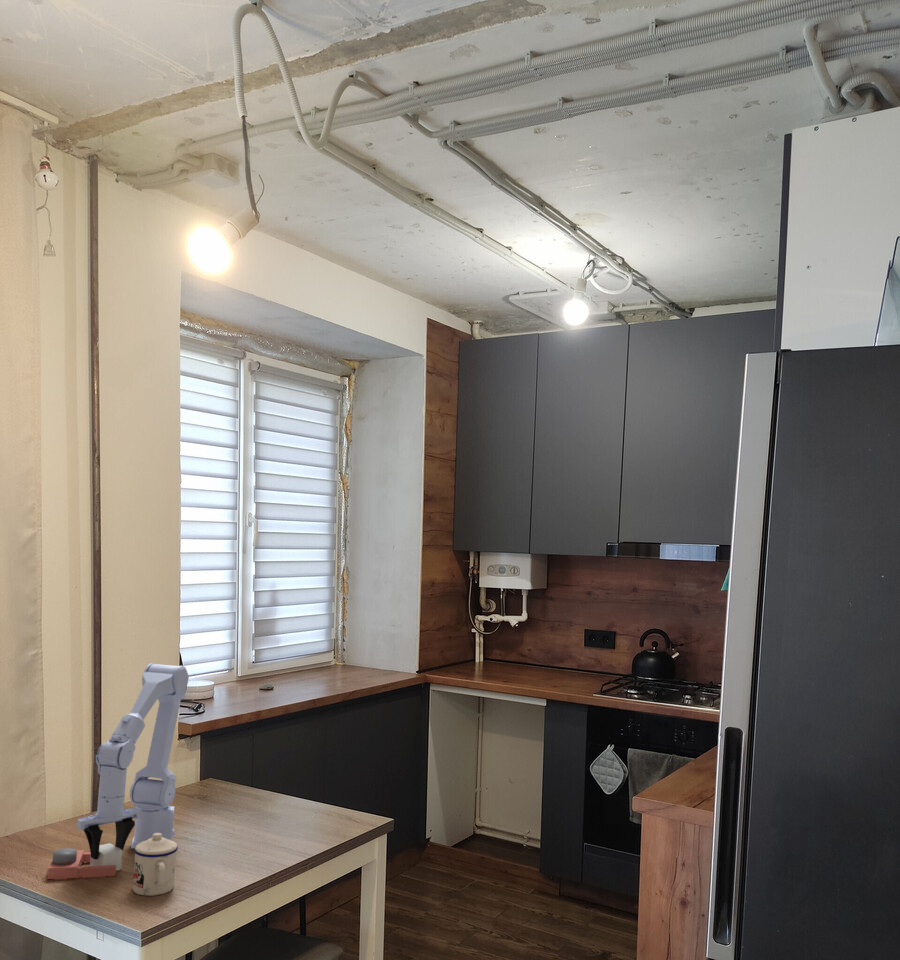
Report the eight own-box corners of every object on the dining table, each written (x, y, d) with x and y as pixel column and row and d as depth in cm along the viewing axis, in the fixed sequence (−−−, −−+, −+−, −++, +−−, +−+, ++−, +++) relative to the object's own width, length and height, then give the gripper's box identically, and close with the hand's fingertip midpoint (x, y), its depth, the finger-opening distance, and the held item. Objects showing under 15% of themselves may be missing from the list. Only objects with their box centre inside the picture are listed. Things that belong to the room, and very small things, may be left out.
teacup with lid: (127, 884, 191) (131, 829, 192) (169, 878, 196) (173, 825, 197) (137, 904, 181) (142, 847, 182) (182, 898, 185) (186, 842, 186)
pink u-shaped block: (119, 859, 206) (121, 839, 206) (114, 876, 195) (116, 856, 195) (55, 862, 202) (57, 842, 202) (47, 879, 191) (49, 858, 192)
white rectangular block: (108, 862, 204) (109, 843, 204) (120, 870, 200) (122, 849, 200) (89, 867, 200) (91, 847, 201) (102, 874, 196) (103, 854, 197)
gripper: (132, 785, 209) (127, 843, 208) (72, 796, 198) (67, 857, 197) (147, 792, 204) (142, 851, 203) (87, 803, 194) (81, 866, 193)
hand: (106, 855), depth 200 cm, fingers open, 5 cm apart
